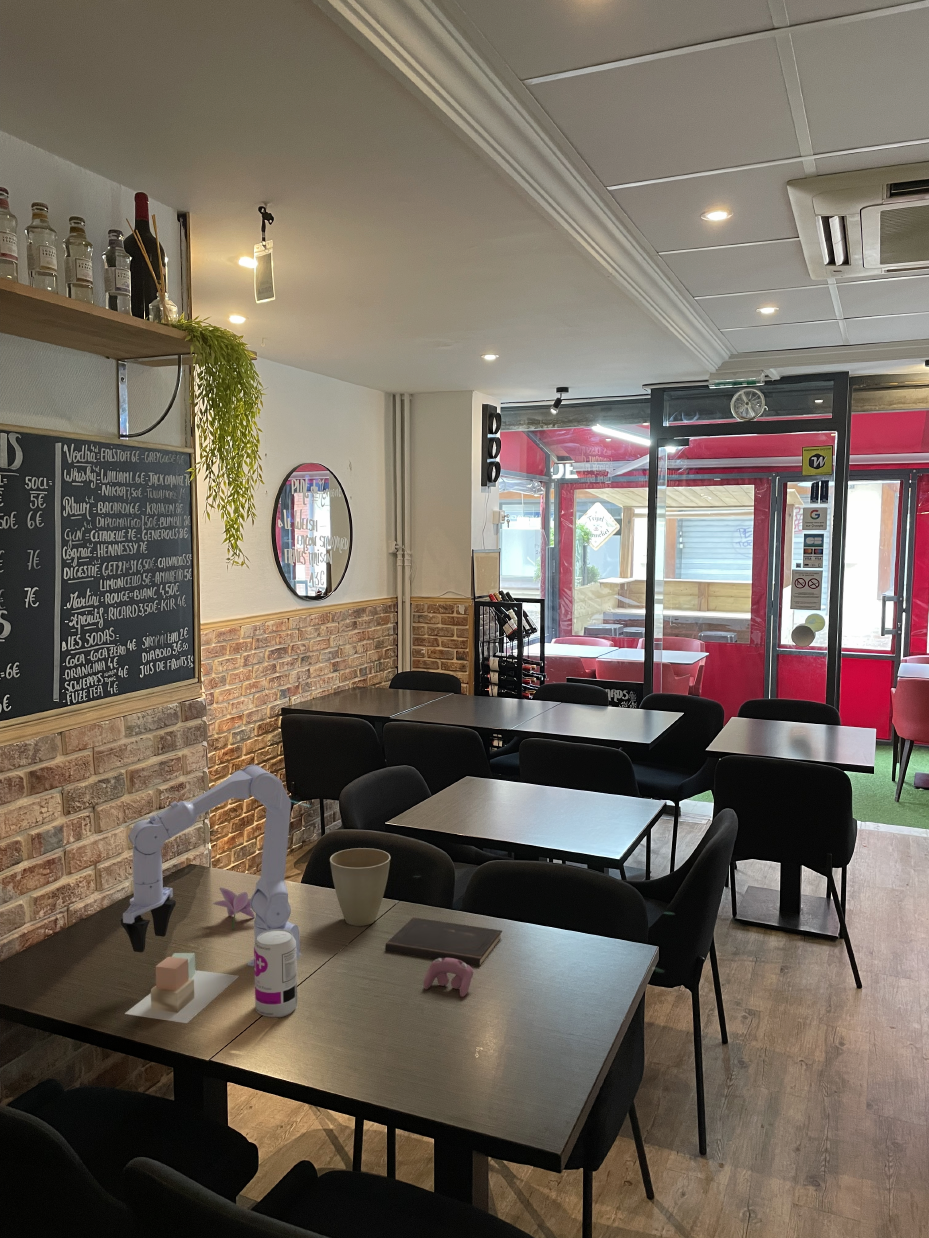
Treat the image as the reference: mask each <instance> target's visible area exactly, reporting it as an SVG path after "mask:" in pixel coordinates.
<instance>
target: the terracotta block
mask: <svg viewBox="0 0 929 1238" xmlns="http://www.w3.org/2000/svg"><path fill="white" fill-rule="evenodd" d="M188 980H189V976H188V959H184V958H176V957H172V956H167V957H166V958H165V959H163V960H161V962H159V963H158V964H157V965H155V984H156V985H155V986H156V988H159V989H167V990H174V991H177V990H178V989H179V988H180V987H181V986H182V985H184V984H185V983H186V982H187V981H188Z"/></svg>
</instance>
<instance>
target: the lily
mask: <svg viewBox="0 0 929 1238" xmlns="http://www.w3.org/2000/svg"><path fill="white" fill-rule="evenodd" d="M218 889H219V891H220V893H221V895H222V897H223V899H222V900H217V901H215V902H213V903H212V904H213V905H216V906H218V907H219V906H220V907H223V908H226V910H227V911H226V912H227V915H228V917H233V920H232V928H231V929H232V930H234V929H235V920H236V915H238V914H239V913H241V914H244V915H246V916H248V917H250V918H254V919H255V917H256V915H255V912H254V911H253V910H252V908H251V905H250V901H251V898H249V894H248V892H247V891H244V892H241V893H239V894H236V893H235V892H234V891H232V890H230V889H227V888H225V887H219V888H218Z"/></svg>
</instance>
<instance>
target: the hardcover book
mask: <svg viewBox="0 0 929 1238" xmlns="http://www.w3.org/2000/svg"><path fill="white" fill-rule="evenodd" d="M502 933H503V930H500V929H493V928H488V927H482V926H474V925H468V924H467V925H466V924H462V923H453V922H448V921H443V920H442V921H440V920H433V919H427V918H420V917H411V919H410V920H409V921H408V922H406V924H404V925H403V926H402V927H401V928H400V929H399V930H398V931H397V932H396V933H395V934H394V935H393V936H392V937H391V938H389V940H388V941H386V943H385V948H384V950H385V952H386V953H387V952H389V953H395V954H398V955H399V954H400V955H406V956H413V957H418V958H424V959H430V960H435V959H438V958H454V959H458V960H461V961H463V962H464V963H466V964H467V965H469V966H474V967H479V968H480V967H481V964H482V963H483V962H484V960H486V958H487V957H488V955H489V954H490V953H491V951H492V950H493V949H494V948H495V946H496V945H497V943H499V941H500V939H501V938H502V937H501V934H502Z"/></svg>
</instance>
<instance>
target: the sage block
mask: <svg viewBox="0 0 929 1238" xmlns="http://www.w3.org/2000/svg"><path fill="white" fill-rule="evenodd" d="M171 957H176V958H184V959H188V976H189V979H192V978H193V976H194V974H195V970H196V953H195V952H174V953H172V955H171Z"/></svg>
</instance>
